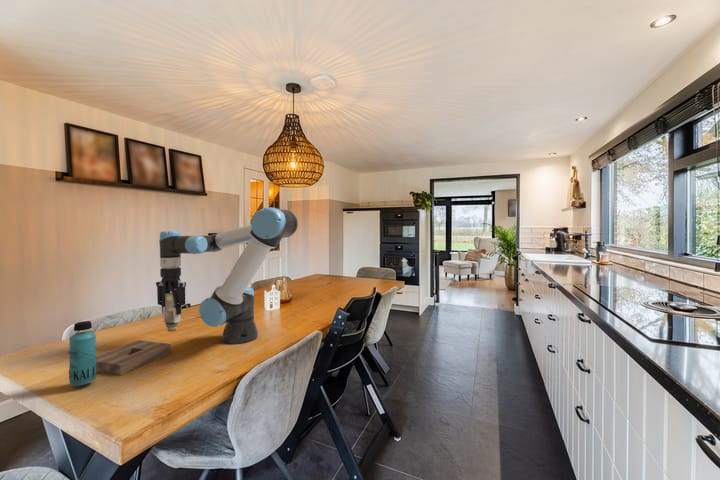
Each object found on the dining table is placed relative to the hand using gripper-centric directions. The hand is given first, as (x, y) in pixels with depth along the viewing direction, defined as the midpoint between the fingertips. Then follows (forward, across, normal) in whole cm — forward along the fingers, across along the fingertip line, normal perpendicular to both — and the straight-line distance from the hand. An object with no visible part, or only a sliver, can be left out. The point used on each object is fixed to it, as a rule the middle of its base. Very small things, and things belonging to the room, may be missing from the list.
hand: (171, 321), depth 131 cm
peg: (+4, 0, 0) cm, 4 cm away
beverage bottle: (+10, +3, -36) cm, 38 cm away
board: (+10, -1, -18) cm, 20 cm away
